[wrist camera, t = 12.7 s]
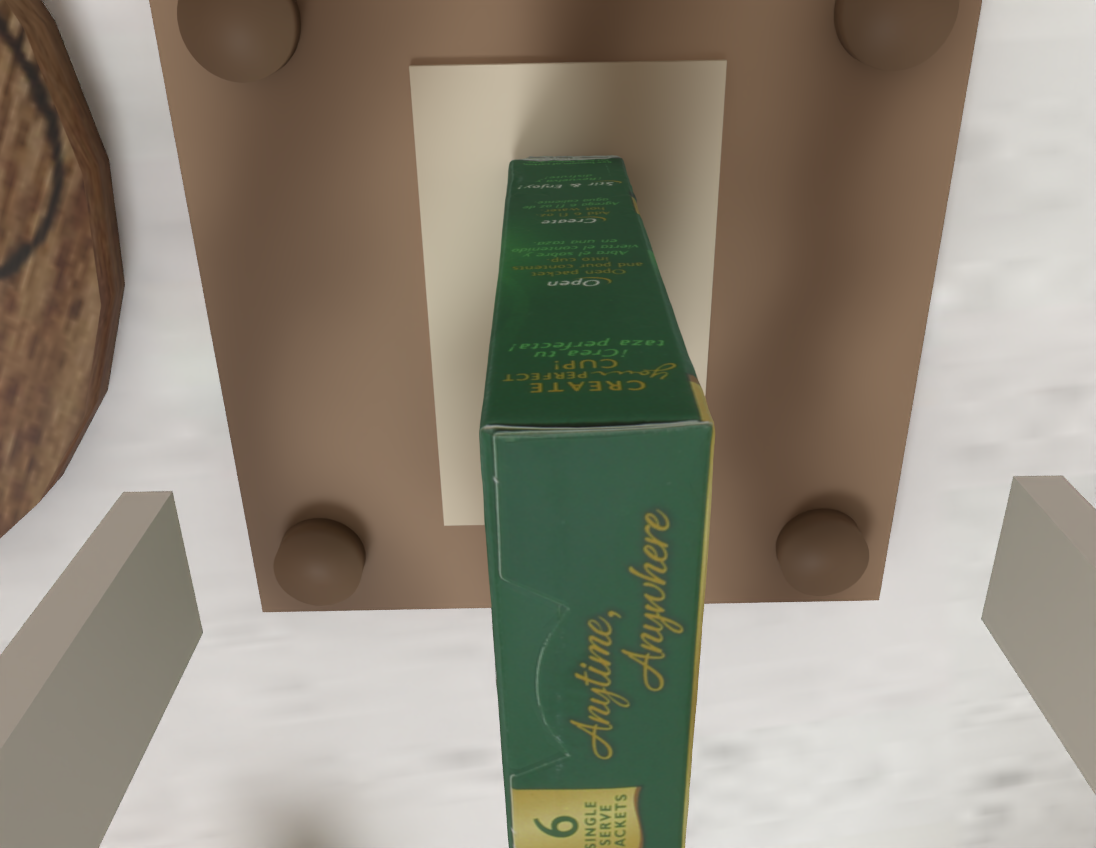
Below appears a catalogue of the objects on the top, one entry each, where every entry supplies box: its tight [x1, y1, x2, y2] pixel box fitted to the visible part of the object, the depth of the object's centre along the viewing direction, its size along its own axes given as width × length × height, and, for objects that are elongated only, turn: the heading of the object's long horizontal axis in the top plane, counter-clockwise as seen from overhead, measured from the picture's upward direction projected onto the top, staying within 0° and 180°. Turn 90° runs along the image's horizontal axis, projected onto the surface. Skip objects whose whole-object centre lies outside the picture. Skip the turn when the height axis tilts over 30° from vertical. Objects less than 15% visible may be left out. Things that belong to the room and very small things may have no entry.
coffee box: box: [479, 155, 715, 848], centre depth 18 cm, size 8×3×13 cm, turn 1°
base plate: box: [149, 0, 982, 612], centre depth 25 cm, size 18×18×3 cm
